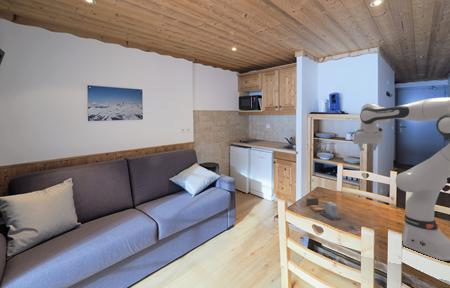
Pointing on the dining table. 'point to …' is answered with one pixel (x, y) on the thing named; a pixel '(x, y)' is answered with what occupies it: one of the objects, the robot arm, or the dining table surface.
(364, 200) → the dining table surface
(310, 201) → the rack
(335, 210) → the medicine box
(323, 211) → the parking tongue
